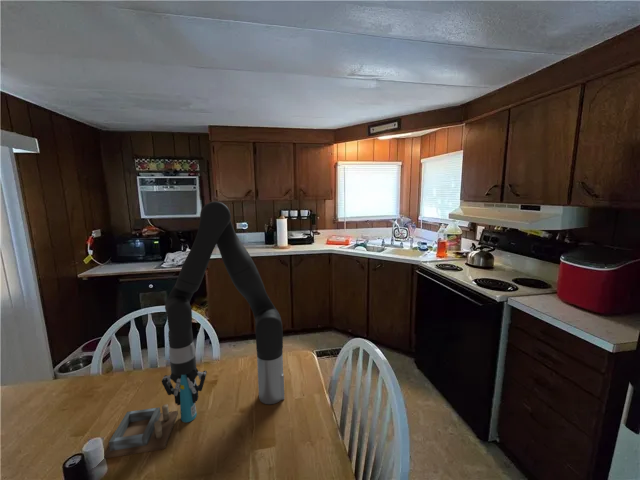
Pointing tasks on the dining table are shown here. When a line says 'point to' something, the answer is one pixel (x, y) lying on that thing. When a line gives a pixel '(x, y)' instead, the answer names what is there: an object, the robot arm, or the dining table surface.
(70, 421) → the dining table surface
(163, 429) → the socket board
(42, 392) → the dining table surface
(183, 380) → the tube
